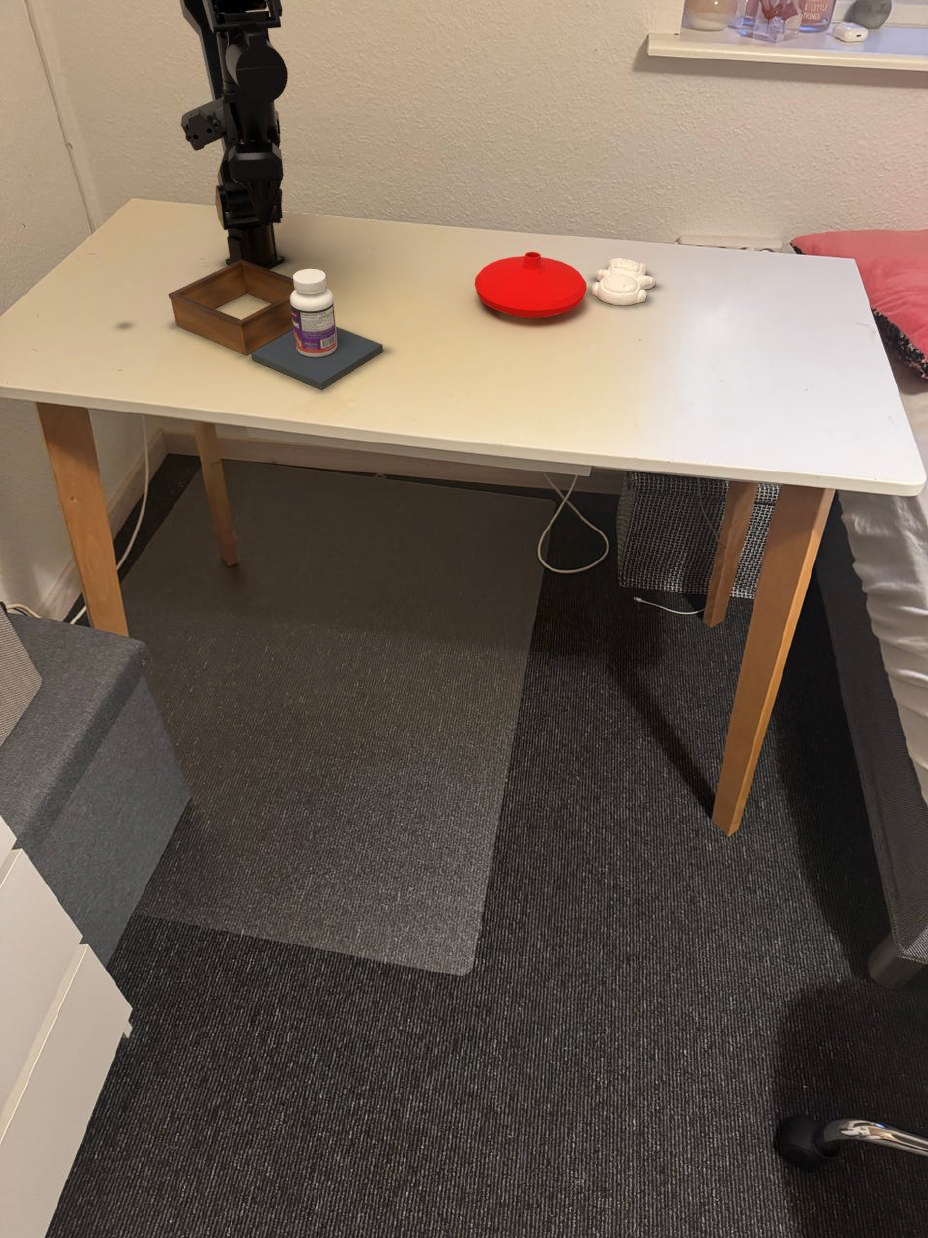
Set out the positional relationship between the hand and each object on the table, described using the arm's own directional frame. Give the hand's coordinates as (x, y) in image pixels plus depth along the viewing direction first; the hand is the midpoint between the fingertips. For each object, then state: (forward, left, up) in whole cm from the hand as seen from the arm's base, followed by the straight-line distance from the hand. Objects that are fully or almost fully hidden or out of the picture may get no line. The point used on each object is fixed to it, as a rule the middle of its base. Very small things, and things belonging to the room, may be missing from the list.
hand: (264, 210), depth 123 cm
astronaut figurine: (-35, +36, -13) cm, 52 cm away
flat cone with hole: (-22, +28, -13) cm, 38 cm away
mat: (+7, +14, -13) cm, 20 cm away
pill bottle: (+7, +14, -12) cm, 20 cm away
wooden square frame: (+6, 0, -13) cm, 14 cm away
